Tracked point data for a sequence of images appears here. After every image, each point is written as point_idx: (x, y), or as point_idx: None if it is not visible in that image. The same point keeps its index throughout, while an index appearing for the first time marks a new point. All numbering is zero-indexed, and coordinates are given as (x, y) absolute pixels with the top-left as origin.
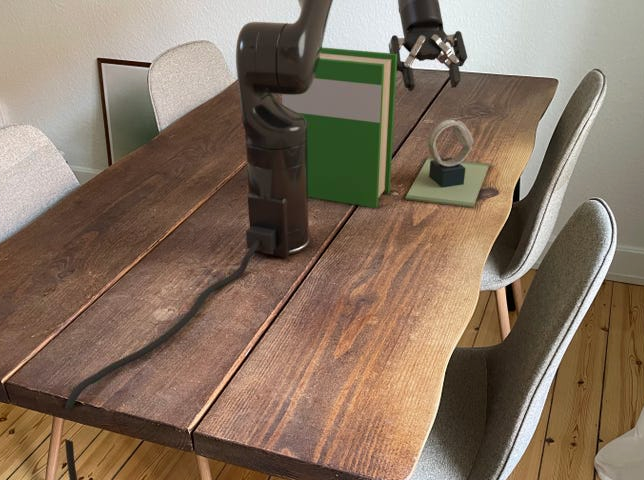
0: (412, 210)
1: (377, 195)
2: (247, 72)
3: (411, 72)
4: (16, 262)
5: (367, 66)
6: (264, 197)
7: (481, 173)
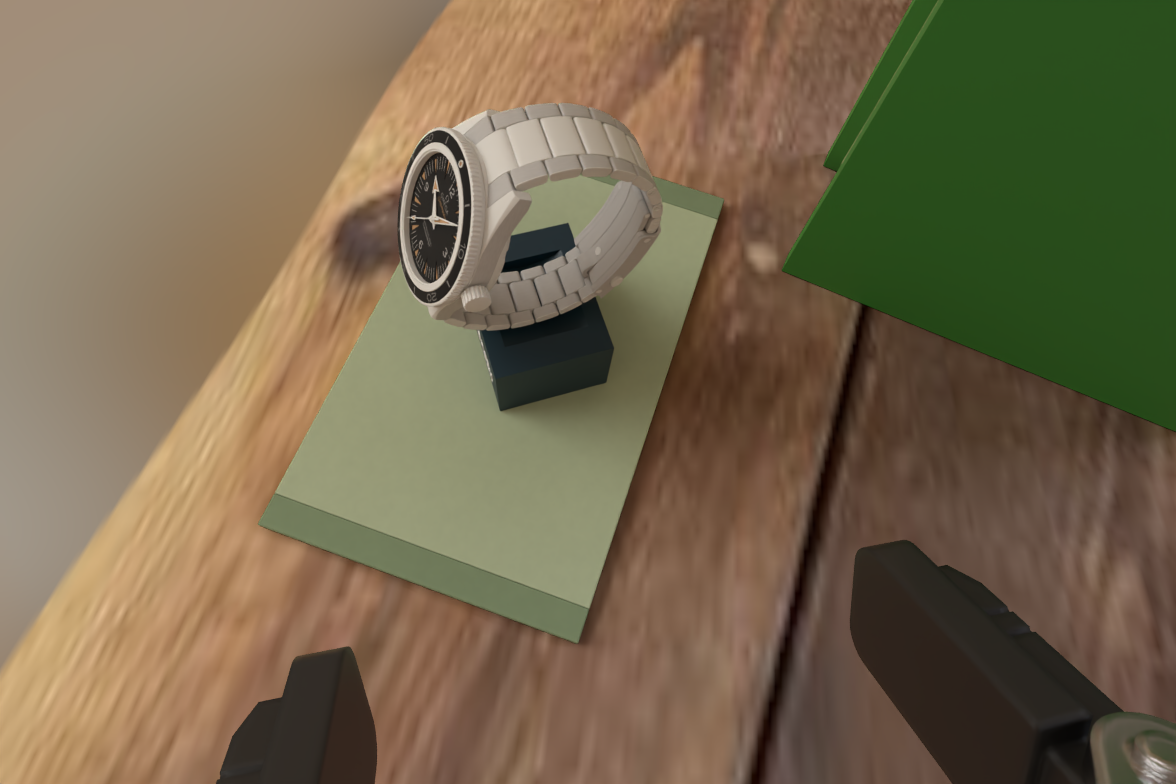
0: (698, 128)
1: (843, 127)
2: None
3: (992, 655)
4: None
5: None
6: None
7: (345, 399)
